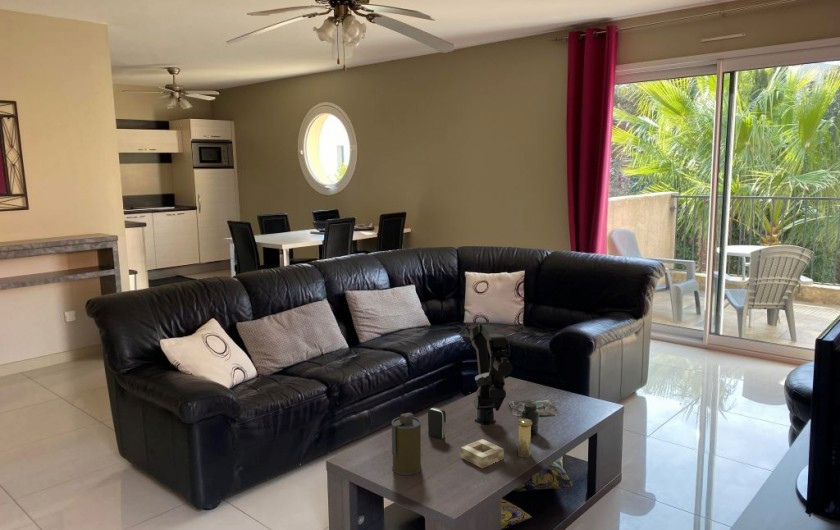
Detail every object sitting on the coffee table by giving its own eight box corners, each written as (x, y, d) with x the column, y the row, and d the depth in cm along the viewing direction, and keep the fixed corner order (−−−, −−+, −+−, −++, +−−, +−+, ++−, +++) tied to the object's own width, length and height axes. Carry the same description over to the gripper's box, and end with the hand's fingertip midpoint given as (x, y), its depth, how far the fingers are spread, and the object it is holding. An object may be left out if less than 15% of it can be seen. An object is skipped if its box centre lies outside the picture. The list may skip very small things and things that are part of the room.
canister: (409, 458, 225) (408, 406, 222) (427, 469, 217) (427, 415, 214) (385, 467, 218) (384, 414, 215) (403, 478, 210) (402, 423, 207)
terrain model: (513, 418, 262) (513, 411, 262) (507, 405, 277) (507, 398, 277) (560, 417, 263) (560, 410, 263) (551, 404, 278) (552, 397, 278)
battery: (447, 436, 243) (447, 409, 242) (441, 440, 240) (441, 412, 239) (433, 432, 248) (432, 405, 246) (427, 435, 245) (427, 408, 243)
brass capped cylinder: (514, 455, 227) (515, 422, 225) (520, 450, 231) (521, 417, 229) (527, 459, 224) (528, 425, 222) (533, 453, 228) (534, 420, 226)
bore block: (460, 457, 226) (461, 447, 225) (482, 448, 233) (482, 438, 232) (482, 468, 217) (482, 457, 217) (503, 459, 224) (503, 448, 224)
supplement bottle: (538, 437, 242) (538, 408, 240) (520, 436, 243) (521, 407, 242) (538, 430, 249) (539, 402, 247) (521, 429, 250) (521, 401, 248)
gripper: (476, 360, 248) (476, 396, 250) (476, 375, 230) (476, 414, 232) (504, 360, 247) (503, 397, 249) (506, 376, 229) (505, 415, 231)
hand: (496, 406), depth 240 cm, fingers open, 9 cm apart
